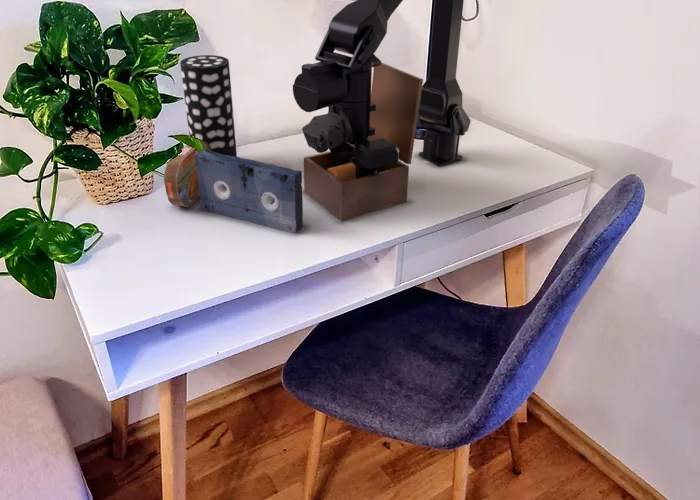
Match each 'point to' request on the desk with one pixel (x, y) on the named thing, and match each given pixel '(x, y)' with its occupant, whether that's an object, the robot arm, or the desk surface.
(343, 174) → the bread
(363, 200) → the bread box
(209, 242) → the desk surface
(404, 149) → the bin lid
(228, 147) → the white-spotted black cylinder
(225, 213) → the vhs cassette tape
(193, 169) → the tin
